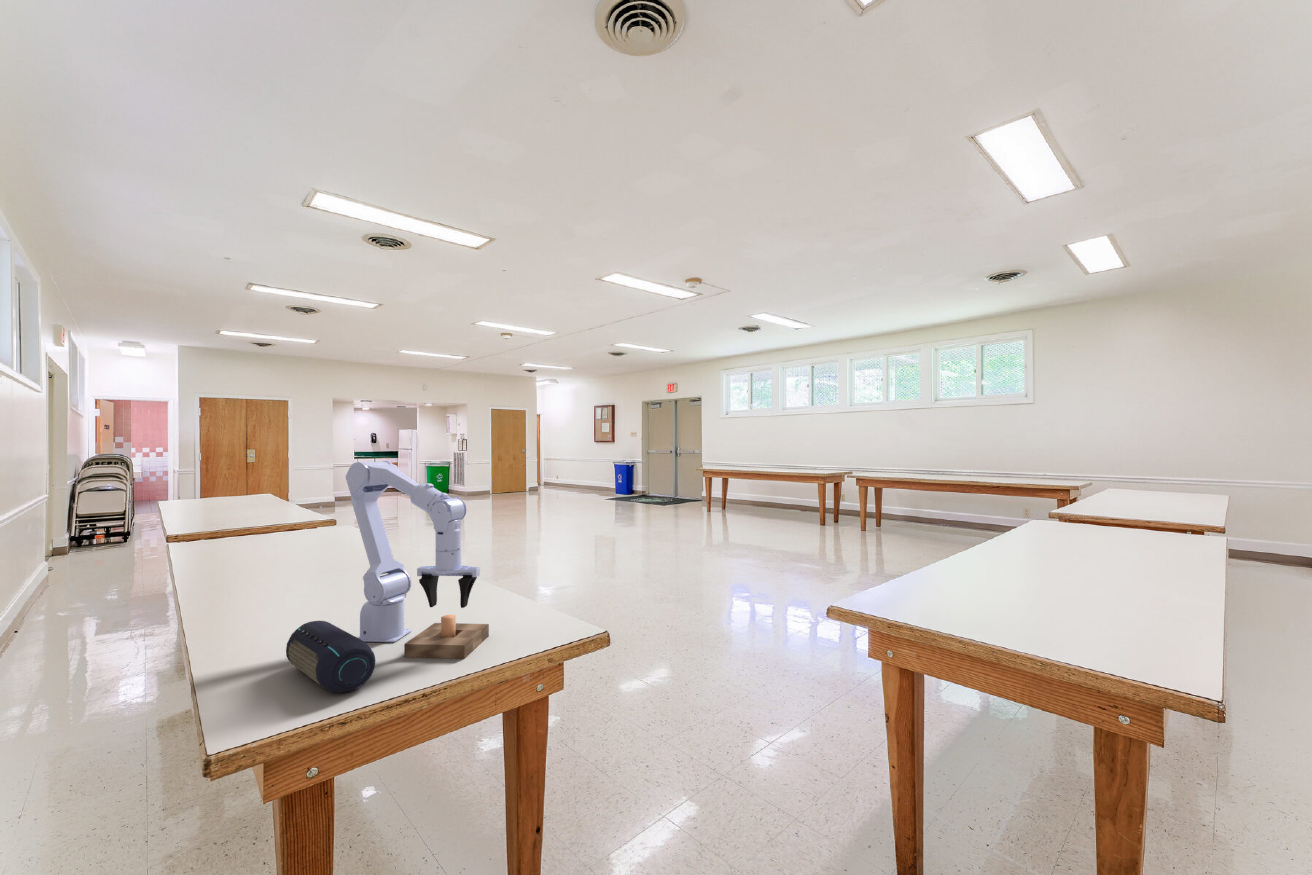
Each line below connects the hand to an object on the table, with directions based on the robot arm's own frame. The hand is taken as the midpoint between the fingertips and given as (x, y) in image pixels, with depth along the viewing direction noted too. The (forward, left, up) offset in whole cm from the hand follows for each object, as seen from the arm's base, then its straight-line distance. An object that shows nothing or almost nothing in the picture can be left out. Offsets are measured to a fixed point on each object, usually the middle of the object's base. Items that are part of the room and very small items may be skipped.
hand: (448, 606), depth 127 cm
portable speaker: (-17, -18, -10) cm, 27 cm away
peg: (0, 0, -9) cm, 9 cm away
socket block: (0, 0, -9) cm, 9 cm away
